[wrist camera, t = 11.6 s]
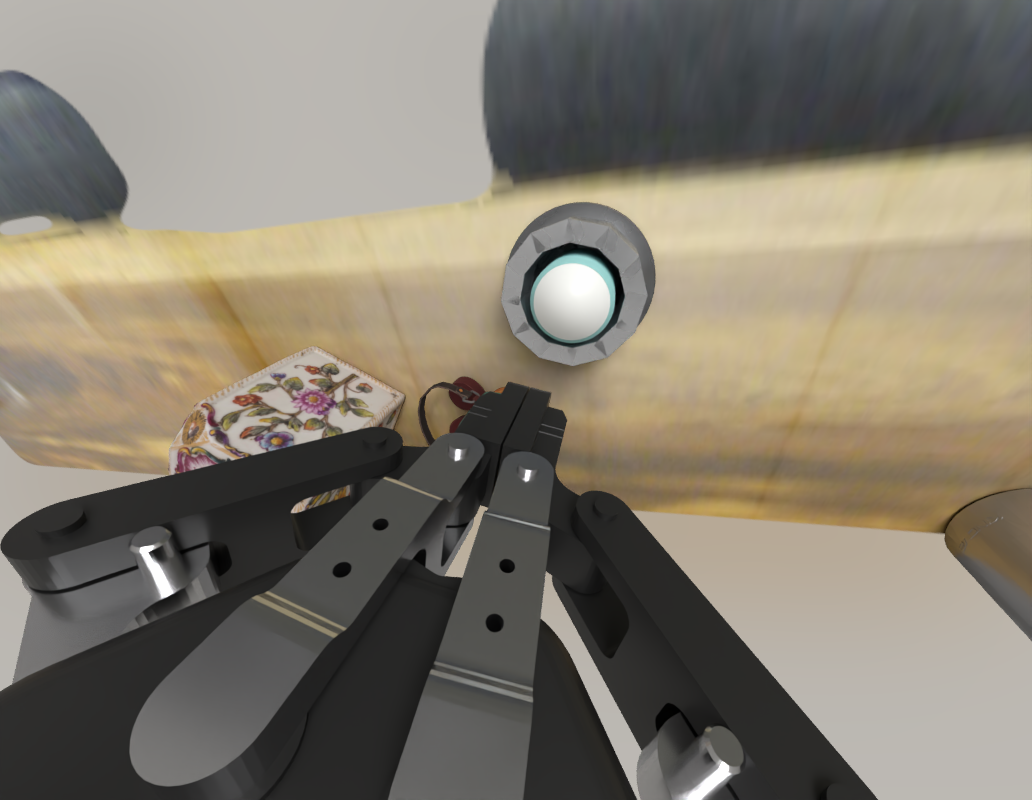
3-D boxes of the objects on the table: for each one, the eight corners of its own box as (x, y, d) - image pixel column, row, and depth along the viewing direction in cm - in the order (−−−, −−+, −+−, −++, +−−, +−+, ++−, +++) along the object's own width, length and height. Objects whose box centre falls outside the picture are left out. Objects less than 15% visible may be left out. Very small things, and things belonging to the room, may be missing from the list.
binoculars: (374, 411, 31) (489, 441, 28) (439, 363, 40) (532, 383, 37) (384, 495, 35) (486, 528, 33) (441, 435, 44) (524, 458, 41)
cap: (625, 256, 29) (626, 269, 24) (604, 328, 32) (601, 352, 27) (552, 240, 30) (538, 250, 25) (537, 312, 33) (522, 333, 28)
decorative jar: (410, 394, 41) (285, 513, 26) (383, 465, 47) (269, 597, 32) (311, 340, 41) (125, 428, 26) (296, 418, 47) (139, 528, 32)
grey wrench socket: (678, 219, 28) (689, 224, 24) (627, 365, 34) (628, 392, 30) (520, 188, 30) (502, 187, 25) (498, 334, 36) (480, 354, 31)
